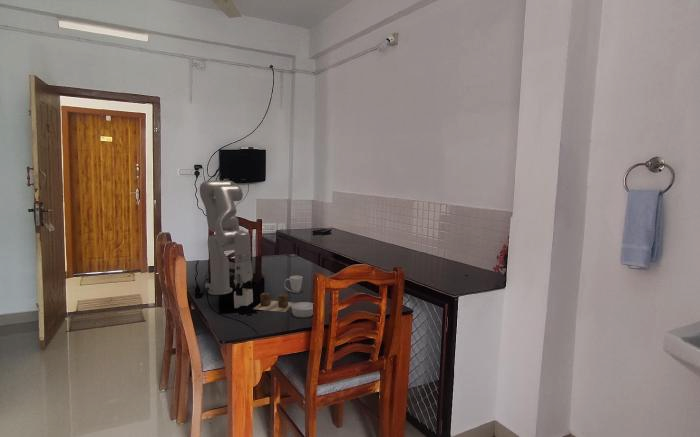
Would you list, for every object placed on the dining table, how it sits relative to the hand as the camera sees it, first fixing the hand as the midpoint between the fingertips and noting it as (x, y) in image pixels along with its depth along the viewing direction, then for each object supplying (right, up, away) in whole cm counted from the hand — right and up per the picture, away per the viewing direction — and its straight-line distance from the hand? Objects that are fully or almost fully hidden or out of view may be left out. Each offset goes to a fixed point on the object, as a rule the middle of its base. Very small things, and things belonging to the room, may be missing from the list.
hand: (244, 292), depth 208 cm
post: (+19, -6, -3) cm, 21 cm away
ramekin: (+30, -9, -12) cm, 34 cm away
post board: (+15, -7, -2) cm, 17 cm away
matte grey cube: (-1, -7, +1) cm, 7 cm away
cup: (+20, -4, +26) cm, 34 cm away
